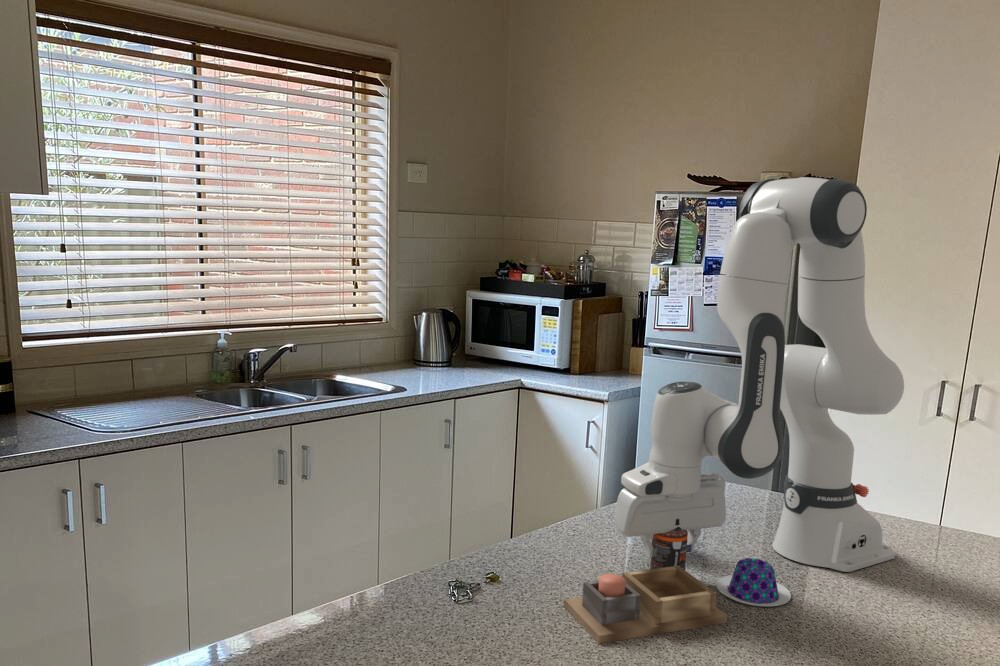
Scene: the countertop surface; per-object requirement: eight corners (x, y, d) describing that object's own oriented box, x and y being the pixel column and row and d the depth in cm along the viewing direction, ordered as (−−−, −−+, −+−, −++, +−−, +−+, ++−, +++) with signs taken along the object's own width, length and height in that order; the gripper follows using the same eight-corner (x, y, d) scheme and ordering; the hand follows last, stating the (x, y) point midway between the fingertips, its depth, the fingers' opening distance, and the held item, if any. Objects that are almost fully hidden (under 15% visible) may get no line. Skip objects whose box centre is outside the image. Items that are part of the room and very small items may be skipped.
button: (616, 592, 129) (617, 572, 129) (629, 604, 125) (630, 583, 125) (593, 595, 128) (594, 575, 127) (605, 607, 124) (606, 586, 123)
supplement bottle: (684, 586, 140) (689, 522, 138) (649, 582, 141) (653, 518, 139) (684, 572, 145) (688, 510, 144) (649, 568, 147) (654, 506, 145)
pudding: (791, 616, 131) (793, 585, 130) (713, 602, 135) (715, 572, 134) (790, 585, 142) (793, 556, 142) (718, 573, 146) (720, 545, 145)
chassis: (683, 589, 138) (685, 561, 138) (726, 622, 127) (728, 592, 127) (563, 606, 131) (565, 576, 130) (598, 643, 120) (600, 610, 119)
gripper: (714, 467, 147) (709, 541, 149) (612, 475, 140) (608, 553, 142) (736, 477, 141) (730, 555, 143) (631, 487, 134) (626, 568, 136)
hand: (668, 554), depth 142 cm, fingers closed on supplement bottle, 6 cm apart
